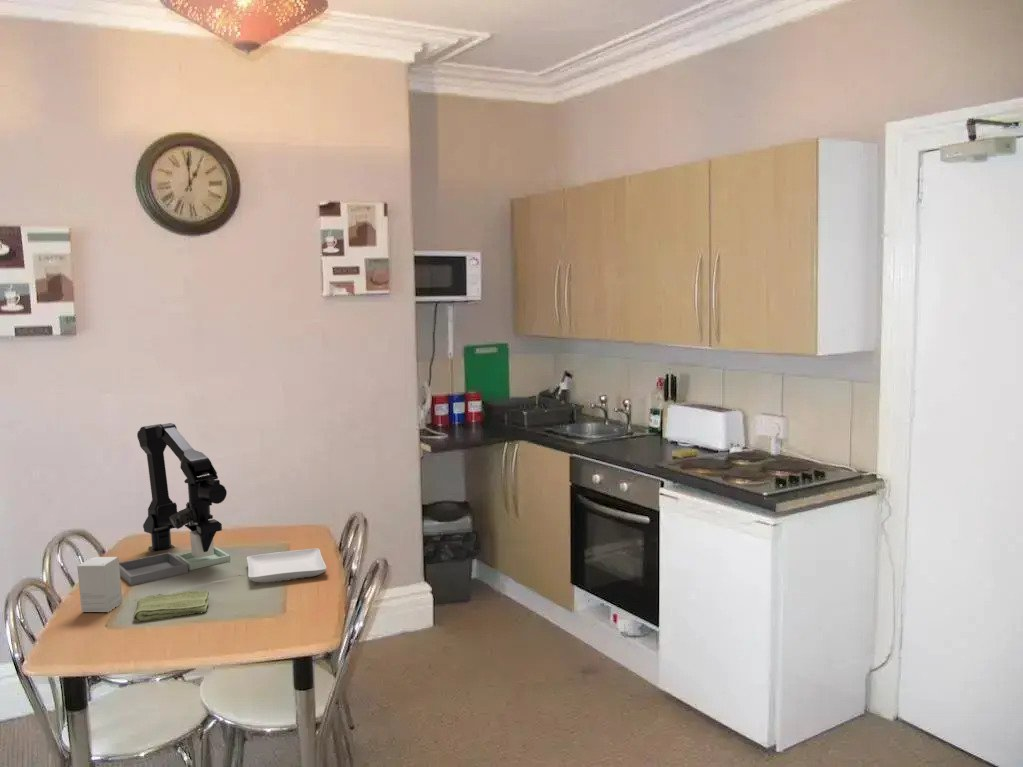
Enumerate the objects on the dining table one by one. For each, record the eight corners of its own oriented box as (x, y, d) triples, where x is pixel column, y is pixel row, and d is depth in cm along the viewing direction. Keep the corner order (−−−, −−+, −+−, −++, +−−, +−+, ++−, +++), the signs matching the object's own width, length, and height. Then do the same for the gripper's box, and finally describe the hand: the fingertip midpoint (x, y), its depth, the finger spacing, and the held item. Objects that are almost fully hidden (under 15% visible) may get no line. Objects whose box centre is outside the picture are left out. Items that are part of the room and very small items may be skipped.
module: (191, 554, 257) (190, 531, 256) (208, 550, 260) (206, 528, 259) (197, 558, 253) (195, 535, 252) (214, 554, 256) (212, 531, 256)
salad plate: (319, 557, 261) (318, 546, 260) (327, 579, 241) (327, 567, 240) (246, 566, 254) (246, 555, 253) (249, 589, 234) (248, 577, 233)
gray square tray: (115, 573, 249) (114, 563, 248) (170, 561, 258) (169, 552, 258) (131, 587, 237) (130, 576, 236) (188, 574, 246) (187, 564, 246)
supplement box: (123, 602, 225) (120, 556, 223) (107, 613, 218) (103, 565, 216) (97, 602, 226) (93, 556, 224) (80, 613, 218) (76, 565, 217)
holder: (176, 562, 258) (176, 555, 258) (215, 553, 265) (215, 546, 265) (190, 571, 249) (189, 564, 248) (230, 562, 256) (230, 555, 256)
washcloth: (208, 615, 216) (208, 602, 216) (132, 625, 211) (131, 612, 210) (209, 597, 229) (208, 585, 228) (137, 606, 223) (136, 595, 223)
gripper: (161, 497, 257) (164, 548, 259) (182, 509, 243) (185, 563, 244) (198, 491, 264) (201, 540, 266) (221, 502, 250) (224, 554, 251)
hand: (202, 549), depth 257 cm, fingers closed on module, 5 cm apart
